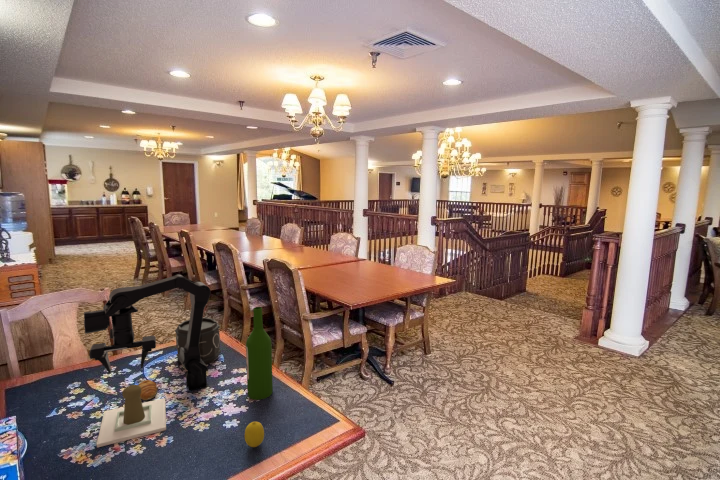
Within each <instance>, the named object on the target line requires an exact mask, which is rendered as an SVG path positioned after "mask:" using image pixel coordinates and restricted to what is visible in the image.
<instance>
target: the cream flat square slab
mask: <svg viewBox="0 0 720 480" xmlns="http://www.w3.org/2000/svg"><path fill="white" fill-rule="evenodd" d="M142 406H143V410H144V414H145V418H144V419H143V420H142V421H140V422H138V423H133V424H129V425H126V424H124V422H123V420H124V407H123V406H122V407H118V408H113V409H110V410H105V411H104V412H103V416H102V420H101V423H100V429H99V433H98V437H97V440H96V448H100V447H104V446H108V445H113V444H117V443H121V442H124V441H129V440H132V439H136V438H140V437H143V436H147V435H148V436H149V435H151V434H155V433H159V432H164V431H167V412H166V410H167V409H166V397H165V398H164V397H163V398H159V399H155V400H150V401H144V402H142Z"/></svg>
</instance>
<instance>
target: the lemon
mask: <svg viewBox="0 0 720 480" xmlns="http://www.w3.org/2000/svg"><path fill="white" fill-rule="evenodd" d="M264 439H265V429H264V426H263V425H262V423H261V422H259V421H252V422H250V423H248V425H247V426H246V427H245V430H244V440H245V443H246V445H247V446H248V447H250V448H256V447H259V446H260V445H261V444H262V443H263V441H264Z"/></svg>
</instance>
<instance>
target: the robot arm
mask: <svg viewBox="0 0 720 480" xmlns="http://www.w3.org/2000/svg"><path fill="white" fill-rule="evenodd" d="M178 288H179V289H181V290H184V291H186V292H187V293H188V294H189V299H190V304H191V308H190V315H189V316H190V317H189V320H190V321H189V328H188V336H187V343H186V345H185V347H184V348H182V347H180V355H179V357H177V359H178V358H179V359H180V361H181V362H180V364H181V363H182V364H181V365H182V366H183V368H184V369H185V370H186V371H187V373H186V374H185V381H186V388H188V391H190V392H191V391H195V390H200V389H203V388H207V387H208V382H207V370H208V366H207V364H205V363H204V362H203V361H202V359H201V355H200V349H199V341H200V334H201V327H202V320H203V318H204V311H205V307H206V306H207V304H208V303H209V299H210V296H211V295H212V294H211V288H209V286H208V285H206V284H205V283H204V282H202V281H194V280H191V279H189V278H187V277H185V276H183V275H182V274H175V275H173V276H170V277H167V278H164V279H160V280H156V281H153V282H150V283H146V284H141V285H137V286H125V287H118V288H115V289H112V290H111V292H110V293H109V295H108V300H107V302H106V303H105V304H104V306H103V307H102V309H98V310H93V311H91V310H90V311H89V310H88V311H84V312H83V327H84V333H85V335H86V334H92V333H97V332H102V331H106V330H107V329H109V327H110V326H111V329H109V338H110V339H111V340H113V344H112V345H111V344H110V345H107V343H106V342H101V343H96V344H92V345H91V346H90V349H89V353H88V354H89V359H90V360H92V359H93V360H94V361H99V362H100V364H102V365H103V367H104V368H105V370H106V372H107V373H108V374H110V375H111V374H112V367H111V363H110V359H109V353H110V352H114V351H115V352H116V351H121V350H128V349H133V348H139V347H141V355H140V356H141V357H140V369H143V366H144V365H145V360H146V358H147V355H148V353H149V352H152V351H153V350H154V349H156V348H157V341H156V339H157V337H156V336H155V335H148V336H146V335H145V336H142V340H136V341H135V333H134V329H133V327H134V326H133V317H132V314H133V313H137V312H139V308H137V307H136V306H134V305H135V304H136V303H139V301H141V300H142V299H145V298H149V297H152V296H155V295H158V294H162V293H165V292H169V291H172V290H174V289H178ZM110 317H111V319H110ZM110 321H111V322H110ZM110 323H111V325H110Z"/></svg>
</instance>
